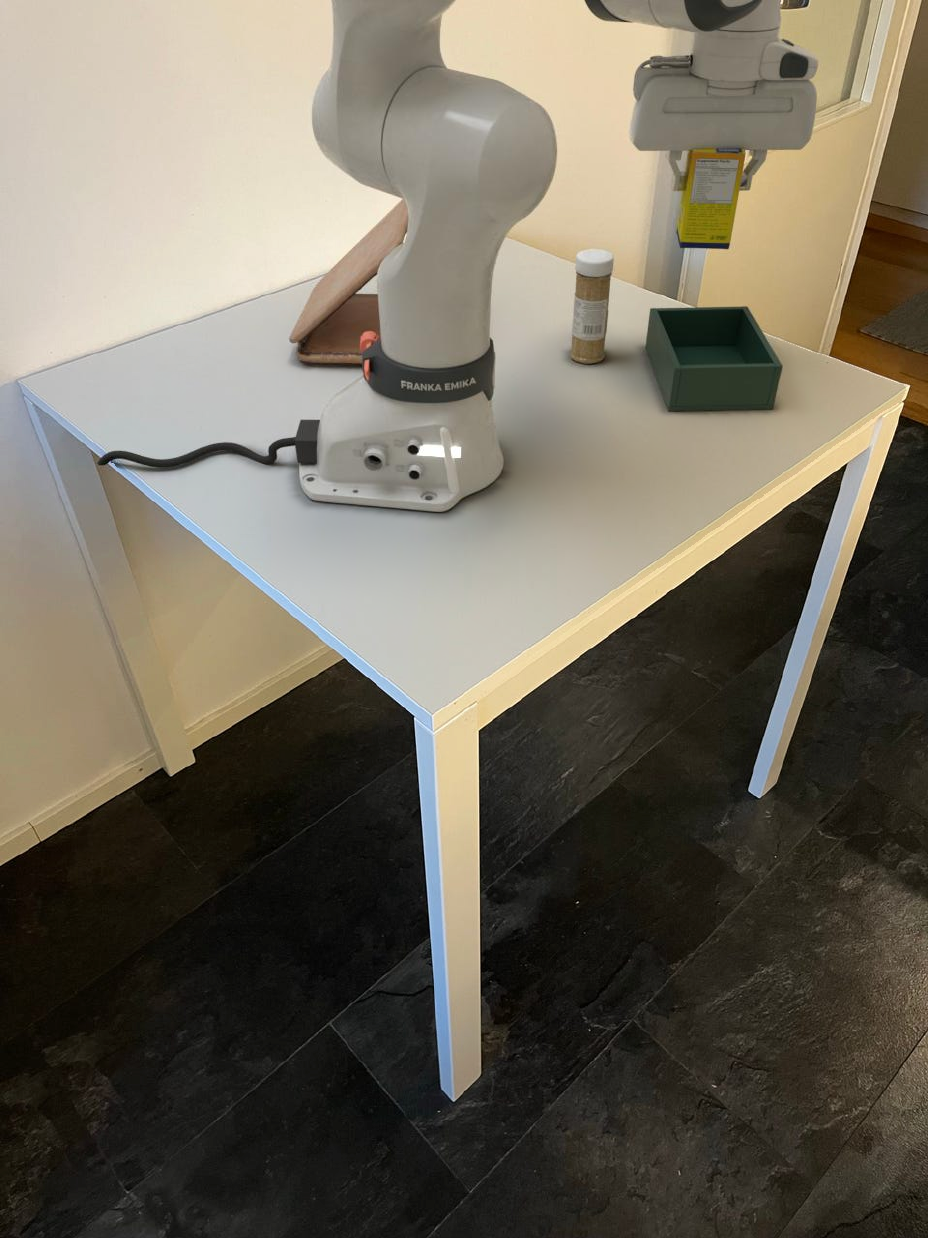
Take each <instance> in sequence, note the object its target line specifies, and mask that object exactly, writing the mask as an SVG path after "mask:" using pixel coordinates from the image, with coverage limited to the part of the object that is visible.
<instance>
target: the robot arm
mask: <svg viewBox="0 0 928 1238" xmlns="http://www.w3.org/2000/svg"><path fill="white" fill-rule="evenodd" d="M456 1H457V0H331V10H332V48H331V57H330V64H329V67H328V69H327V70H326V71H325V73H324V74H323V75H322V77H321V79H320V80H319V82H318V85H317V87H316V89H315V92H314V96H313V99H312V106H311V125H312V126H311V127H312V131H313V136H314V138H315V142H316V144H317V146H318V148H319V150H320V151H321V153H322V154H323V155H324V157H325V158H326V159H327V160H328V161H329V162H331V163H332V164H333V165H334V166H335V167H337V168H338V169H339V170H341V171H342V172H343V173H345V174H346V175H347V176H349V177H350V178H352V179H353V180H354V181H356V182H357V183H359V184H361V185H363V186H366V187H368V188H371V189H374V190H377V191H380V192H382V193H386V194H389V195H391V196H393V197H397V198H400V199H401V200H402V199H405V202H406V204H407V207H408V212H409V220H408V229H407V233H406V235H405V237H404V241H403V244H401V245H399V246H398V247H396V248H395V249H394V250H392V251H391V252H390V253H389V254H388V255H387V256H386V257H385V258H384V260H383V261H382V262H381V264H380V267H379V269H378V273H377V275H376V289H377V290H376V291H377V294H378V306H379V320H380V334H381V338H380V339H379V336H378V335H376V333H375V332H372V331H367V332H364V333H363V336H361V339H360V350H361V352H362V353H363V354H362V363H361V365H362V366H361V367H362V375H361V376H360V377H358V378H357V379H356V380H355V381H353V382H352V383H350V384H348V385H347V386H346V387H345V388H343V389H342V390H340V391H339V392H337V393H335V394H334V395H333V396H332V397H331V398H330V399H329V400H328V402H327V403H326V405H325V407H324V409H323V411H322V413H321V416H320V419H300V420H299V424H298V427H297V430H296V433H295V436H292V437H284V438H279V439H277V440H275V441H274V442H272V443H270V445H269V446H268V449H267V451H268V455H261V454H259V453H257V452H255V451H253V450H252V449H250V448H249V447H247V446H244V445H242V444H239V443H236V442H230V441H229V442H226V441H224V442H223V441H222V442H216V443H210V444H207V445H204V446H202V447H200V448H197V449H195V450H193V451H192V450H191V451H190V452H188V453H185V454H183V455H180V456H176V457H172V458H163V459H162V458H161V459H160V458H154V457H153V458H152V457H148V456H144V455H141V454H137V453H134V452H131V451H126V450H112V451H109V452H107V453H105V454H104V455H102V456H101V457H100V458H99V460H98V461H97V464H96V465H98V466H106V465H108V464H109V463H110V462H113V461H114V460H119V459H120V460H124V461H125V460H126V461H129V462H132V463H136V464H139V465H142V466H146V467H151V468H161V469H163V468H165V469H166V468H172V467H173V468H175V467H178V466H183V465H186V464H188V463H190V462H193V461H195V460H197V459H200V458H202V457H204V456H207V455H210V454H212V453H216V452H222V451H223V452H225V451H227V452H228V451H229V452H234V453H238V454H240V455H242V456H244V457H246V458H247V459H250V460H253V461H254V462H257V463H259V464H264V465H271V464H273V463H275V462H276V461H277V459H278V450H280V449H282V448H288V447H295V454H296V460H297V464H298V475H299V477H298V479H299V484H300V487H301V489H302V491H303V492H304V494H305V495H306V496H307V497H308V498H309V499H310V500H313V501H317V502H325V503H327V502H328V503H337V504H348V505H349V504H350V505H358V506H359V505H360V506H368V507H369V506H370V507H380V508H390V509H391V508H393V509H404V510H414V511H423V512H425V511H426V512H435V513H441V512H442V513H443V512H446V511H448V510H451V509H452V508H453V507H454V506H456V505H457V504H458V503H459V502H460V501H461V500H462V499H463V498H466V497H468V496H470V495H472V494H475V493H477V492H479V491H481V490H483V489H485V488H487V487H488V486H490V485H491V484H493V482H495V481H496V480H497V478H498V477H499V476H500V475H501V473H502V471H503V469H504V466H505V465H504V464H505V460H504V455H503V452H502V449H501V446H500V443H499V439H498V438H499V437H498V434H497V430H496V425H495V417H494V409H493V397H494V392H495V391H494V389H495V388H496V352H495V346H494V340H493V338H492V337H491V311H492V292H493V291H492V290H493V278H494V272H495V266H496V263H497V259H498V255H499V253H500V250H501V248H502V245H503V244H504V241H505V239H506V237H507V235H508V234H509V233H510V231H511V230H512V229H513V228H514V227H515V226H516V225H517V224H518V223H519V222H521V221H522V220H524V219H525V218H527V217H528V216H529V215H531V214H532V213H533V212H534V211H535V210H536V209H537V208H538V206H540V204H541V202H542V201H543V200H544V198H545V196H546V195H547V193H548V191H549V189H550V188H551V185H552V182H553V179H554V176H555V173H556V168H557V161H558V140H557V134H556V130H555V126H554V123H553V120H552V118H551V116H550V115H549V114H550V113H548V111H547V110H546V108H544V106H543V105H541V104H540V103H539V102H537V101H536V100H534V99H532V98H531V97H529V96H528V95H525V94H524V93H522V92H521V91H519V90H517V89H515V88H513V87H512V86H510V85H509V84H506V83H505V82H502V81H500V80H497V79H494V78H491V77H490V78H489V77H486V76H481V75H477V74H473V73H468V72H464V71H459V70H457V69H456V70H455V69H451V68H448V67H447V65H446V64H445V62H444V59H443V57H442V56H443V55H442V52H441V28H442V27H441V26H442V19H443V15H444V13H446V12H447V10H449V9H450V8H451V7H452V6H453V5H454V4H455V2H456ZM781 2H782V0H584V3H585V5H586V6H587V7H586V8H588V10H589V11H590V13H592V14H593V15H594V17H596V18H598V19H599V20H601V21H604V22H611V23H612V22H613V23H629V24H630V23H635V24H641V25H647V26H651V27H657V28H663V29H671V30H672V29H673V30H677V31H684V32H688V33H693V37H692V43H691V50H690V54H689V55H687V54H686V55H671V56H663V55H653V56H650V57H649V59H648V60H645V61H643V62H642V63H640V64H639V66H638V67H637V68H636V70H635V73H634V77H633V87H632V92H633V96H634V99H635V101H634V105H633V110H632V114H631V120H630V124H629V131H628V135H629V140H630V142H631V144H632V145H633V146H634V148H636V150H637V151H640V152H665V159H666V161H667V164H668V166H669V169H670V171H671V172H672V175H671V182H670V189H671V190H672V192H682V191H686V183H687V179H688V175H687V174H686V172H685V171H681V170H680V168H679V166H678V163H677V161H678V162H679V161H681V160H682V154H683V151H687V152H688V151H693V149H744V150H745V151H749V152H748V153H749V154H748V155H750V157H751V158H750V160H749V162H748V163H747V165H746V166H745V167H744V168H743V172H742V178H741V184H740V190H739V192H743V191H746V192H748V191H750V190H751V187H752V181H753V176H755V175H756V173H757V172H758V171H759V170H760V168H761V167H762V166H763V164H764V163H765V162H766V159H767V154H768V151H799V150H800V151H801V150H803V149H804V148H805V147H806V145H808V143H809V142H810V140H811V139H812V135H813V131H814V125H815V120H816V112H817V101H818V100H817V99H818V96H817V95H818V93H817V88H816V86H815V84H814V82H812V81H811V79H813V78H814V77H815V76H816V74H817V72H818V67H819V60H818V58H817V57H816V56H815V55H814V54H813V53H812V52H811V51H809V50H807V49H806V48H803V47H802V46H801V45H800V46H799V45H797V44H795V43H793V42H792V41H790V40H788V39H786V38H785V39H784V38H780V37H779V34H780V30H781V29H780V28H781V23H782V15H781ZM648 65H649V66H648Z"/></svg>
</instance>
